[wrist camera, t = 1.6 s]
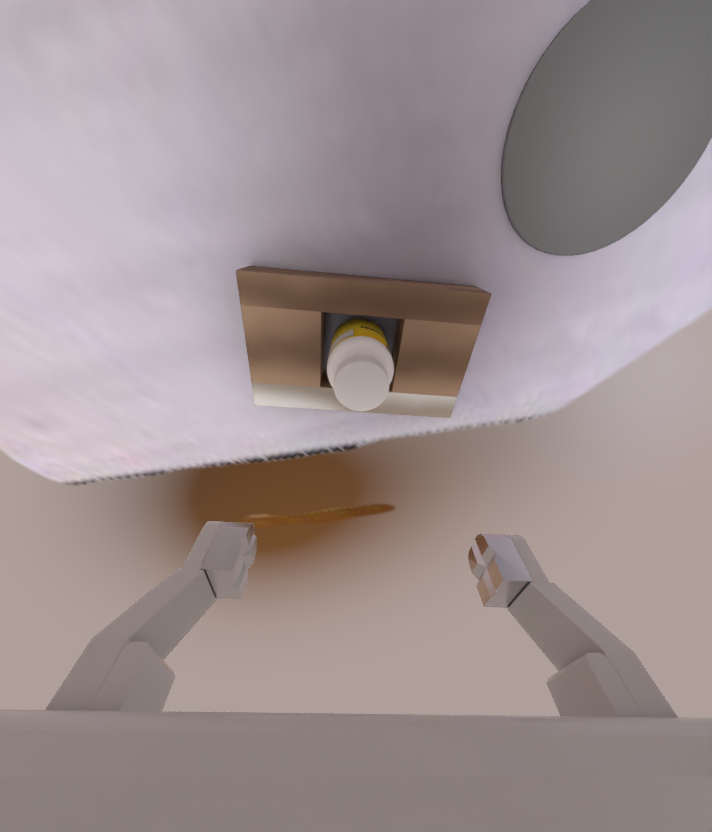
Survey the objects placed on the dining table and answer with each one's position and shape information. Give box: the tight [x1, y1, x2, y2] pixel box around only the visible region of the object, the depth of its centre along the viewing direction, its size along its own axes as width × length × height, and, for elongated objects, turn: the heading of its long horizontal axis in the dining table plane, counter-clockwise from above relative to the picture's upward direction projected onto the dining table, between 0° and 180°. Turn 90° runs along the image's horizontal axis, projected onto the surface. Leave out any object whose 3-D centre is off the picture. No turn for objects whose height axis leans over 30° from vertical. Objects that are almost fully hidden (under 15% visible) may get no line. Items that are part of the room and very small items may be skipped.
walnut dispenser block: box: [236, 266, 491, 418], centre depth 26 cm, size 12×20×3 cm, turn 85°
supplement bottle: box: [327, 317, 394, 411], centre depth 23 cm, size 5×5×10 cm
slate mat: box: [501, 0, 712, 255], centre depth 19 cm, size 14×14×1 cm
